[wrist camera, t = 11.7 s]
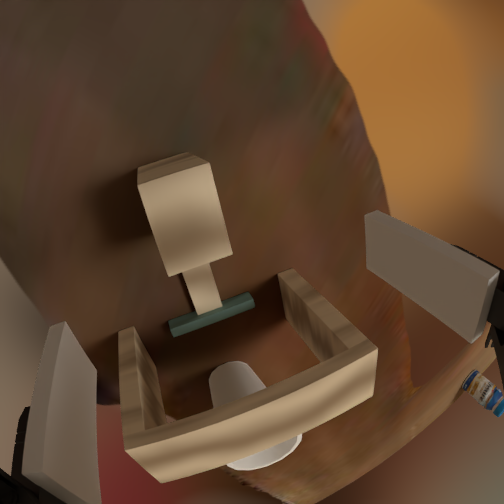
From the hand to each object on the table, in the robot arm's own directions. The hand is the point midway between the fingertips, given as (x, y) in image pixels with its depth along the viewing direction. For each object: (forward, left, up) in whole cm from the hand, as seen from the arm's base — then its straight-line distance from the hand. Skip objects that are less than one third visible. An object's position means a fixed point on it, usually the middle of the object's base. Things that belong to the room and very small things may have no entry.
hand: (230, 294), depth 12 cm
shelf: (+17, 0, -21) cm, 26 cm away
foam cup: (+27, -1, -21) cm, 34 cm away
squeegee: (+6, 0, -21) cm, 21 cm away
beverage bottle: (+85, +73, -21) cm, 114 cm away
